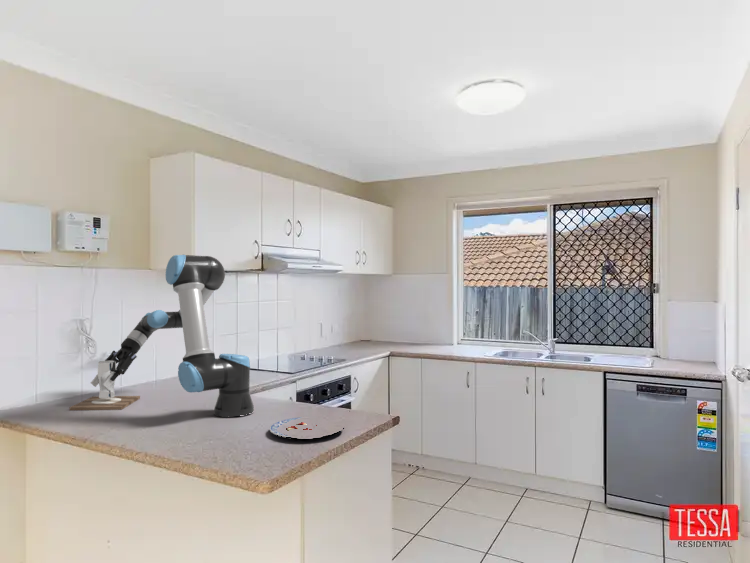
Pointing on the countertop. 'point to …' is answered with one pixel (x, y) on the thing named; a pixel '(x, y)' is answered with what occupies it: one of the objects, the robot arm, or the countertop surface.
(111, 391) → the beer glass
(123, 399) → the walnut board
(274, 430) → the ceramic plate
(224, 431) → the countertop surface
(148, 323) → the robot arm
